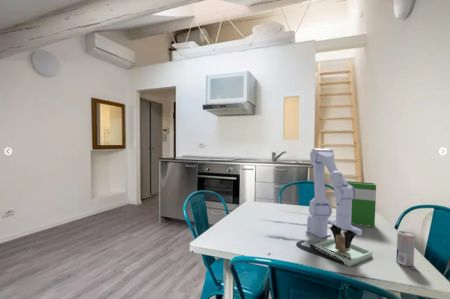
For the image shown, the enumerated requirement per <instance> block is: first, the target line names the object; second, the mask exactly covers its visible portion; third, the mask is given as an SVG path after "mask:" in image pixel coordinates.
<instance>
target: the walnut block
mask: <svg viewBox="0 0 450 299" xmlns="http://www.w3.org/2000/svg"><path fill="white" fill-rule="evenodd" d="M335 249H337V250H339V251H342V252H347V251H350V248H346V247H345V235H344V233H342V232H341V233H340V234H337V235H336V241H335Z"/></svg>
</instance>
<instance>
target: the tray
mask: <svg viewBox="0 0 450 299" xmlns="http://www.w3.org/2000/svg"><path fill="white" fill-rule="evenodd" d="M314 246H316V247H318V248H320V249H322V250H324V251H326V252H327V253H329V254H332V255H334V256H336V257H337V258H339V259H341V260H342V261H343V262H344V264H343V265H345V266H347V267H351V268H352V267H353V266H355V265H358V264H360V263H362V262H365V261H367V260H369V259H371V258H373V251H371V250H369V249H367V248H364V247H361V246H359V245H358V244H357V245H356V244H354V243H352V242H351V245H350V251H347V252H342V251H339V250H337V249H335V239H334V237H333V238H331V239H327V240H324V241H321V242H318V243H315V244H313V247H314ZM320 246H322V247H324V248H326V249H329V250H332V251H335V252H337V253H340V254H343V255H346V256H348V257H350V258H351V260H348V259H346V258H343V257H341V256H339V255H337V254H335V253H333V252H331V251H329V250H326V249H324V248H322V247H320Z"/></svg>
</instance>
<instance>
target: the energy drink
mask: <svg viewBox="0 0 450 299" xmlns="http://www.w3.org/2000/svg"><path fill="white" fill-rule="evenodd" d="M396 235H397V236H396V238H397V239H396V263H398V265H400V264H401V266H403V265H404V267H406V266H412V267H414V266H413V265H415V264H414V262H415V244H416V242H415V241H416V237H415V234H414V233H413V232H412V233H411V232H409V231H406V230H399V231H398V232H397V234H396Z"/></svg>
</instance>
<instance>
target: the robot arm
mask: <svg viewBox="0 0 450 299" xmlns="http://www.w3.org/2000/svg"><path fill="white" fill-rule="evenodd" d="M334 152H335V151H333V149H332V148H312V149H311V151H310V155H309V157H310V158H309V160H310V164H311V165H312V166H313V167H312V168H313V170H312V172H313V184H314V185H313V186H314V187H313V188H314V197H313V198H312V199H311V200H309V206H308V212H309V216H307V220H306V221H307V222H306V230H305V232H306V233H308V234H311V235H312V236H315V237H318V238H320V239H323V238H325V237H329V236H332V235H333V238H334V239H335V241H336V235H337V234H340V233H342V230H345V231H344V232H343V234H344V235H345V247H346V248H350V245H351V243H352V241H353V240H354V238H355V237H356V236H361V235H363V230H362V228H361V229H360V228H358V227H356V226H354V225H353V224H351V212H352V200H353V199H354V198H355V190H354V187H353V186H351V185H350V184H348V183H347V181H348V180H346V178H345V176H344V174H343V173H342V171H339V169H338V167H337V164H336V162H335V153H334ZM324 168H326V170H328V172H329V174H330V175H329V180H330V183H331V184H332V187H333V188H334V191H333V195H334V200H335V203H336V207H335V209H336V211H335V212H336V213H335V220H334V219H331V218H330V217H331V216H332V214H333V208H332V205H331V202H330V200H329V199H327V198H326V187H325V170H324ZM328 225H331V226H330V227H329V228H330V231H331V233H332V234H331V233H329V232H328Z"/></svg>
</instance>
